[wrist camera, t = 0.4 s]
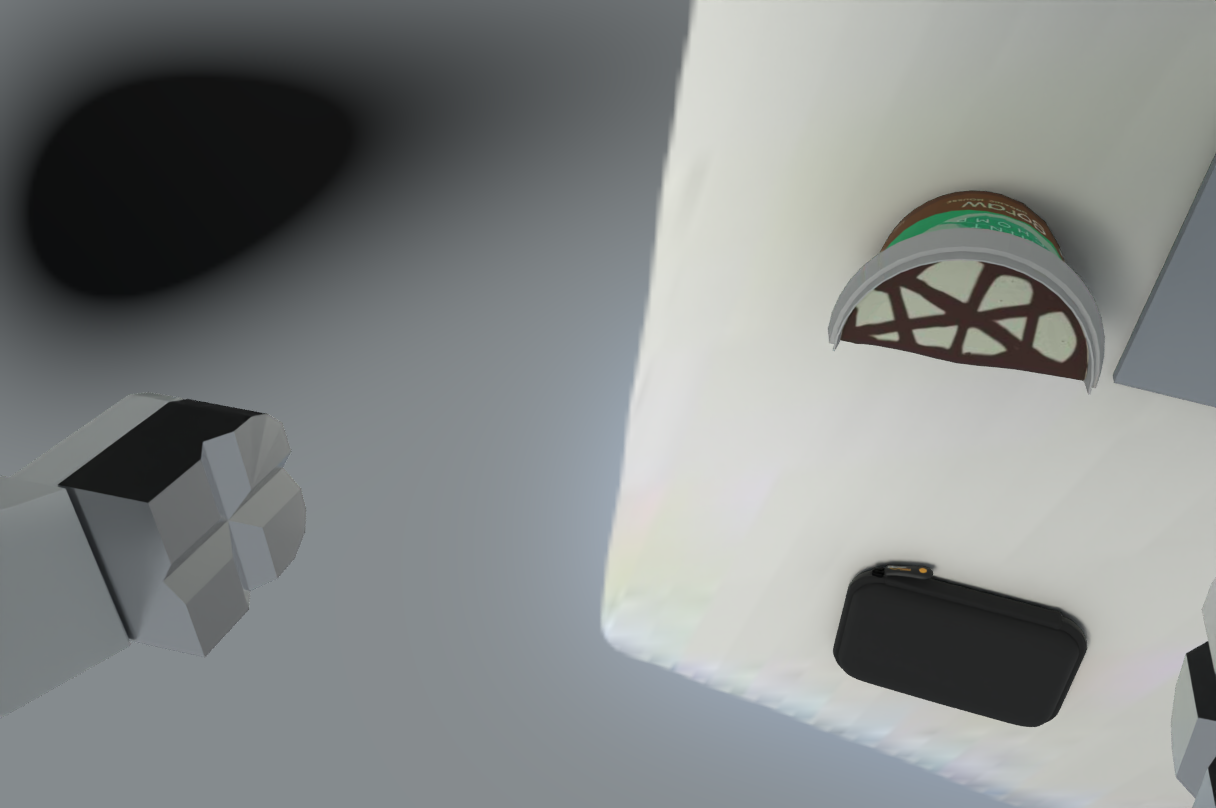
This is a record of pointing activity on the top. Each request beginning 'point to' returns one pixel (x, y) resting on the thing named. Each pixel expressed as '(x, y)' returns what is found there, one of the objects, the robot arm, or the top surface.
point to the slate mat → (1180, 313)
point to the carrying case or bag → (957, 645)
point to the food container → (975, 292)
